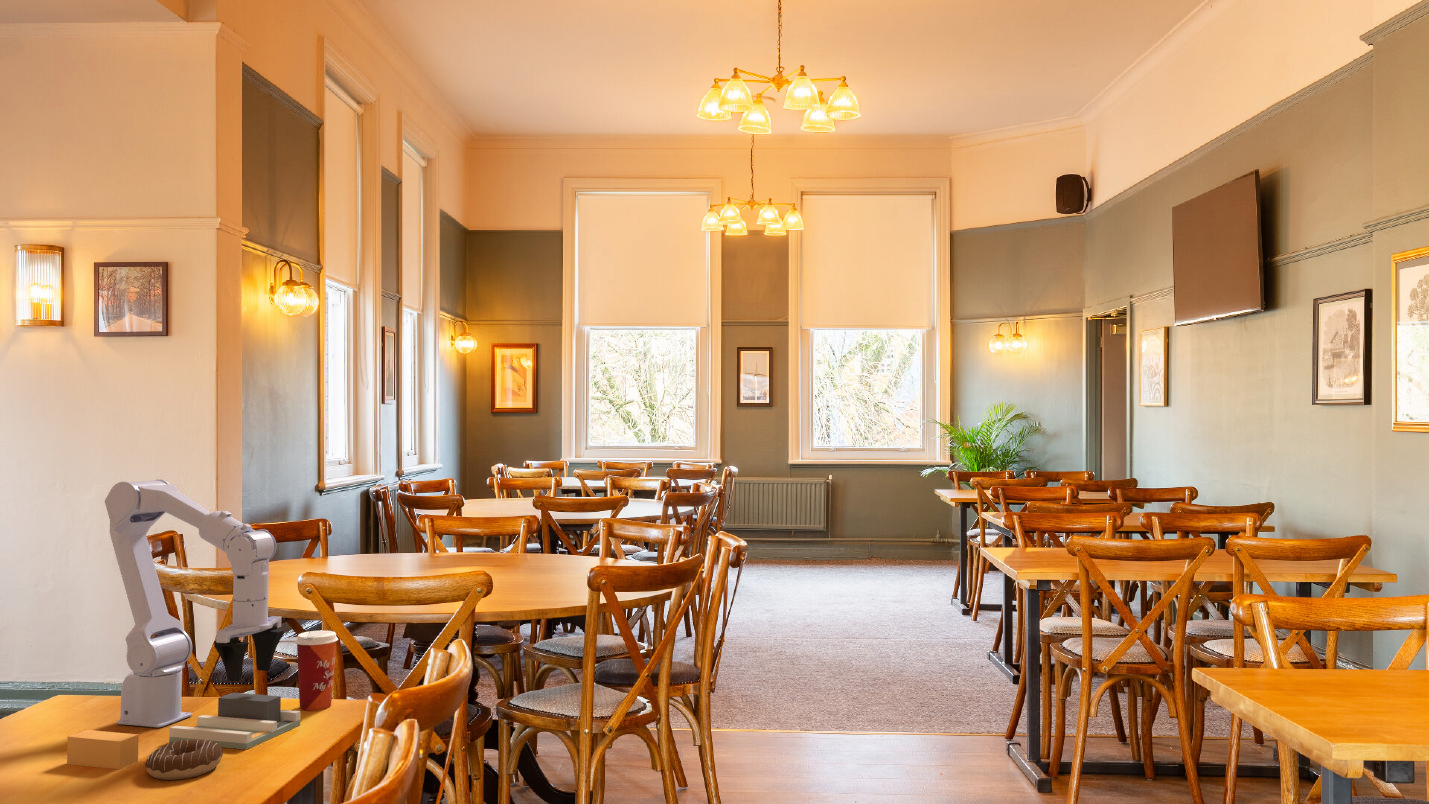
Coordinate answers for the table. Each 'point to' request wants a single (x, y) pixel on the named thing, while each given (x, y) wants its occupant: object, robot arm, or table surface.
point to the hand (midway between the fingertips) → (249, 675)
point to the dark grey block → (250, 706)
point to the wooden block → (102, 749)
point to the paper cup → (316, 669)
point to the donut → (184, 759)
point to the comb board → (235, 730)
